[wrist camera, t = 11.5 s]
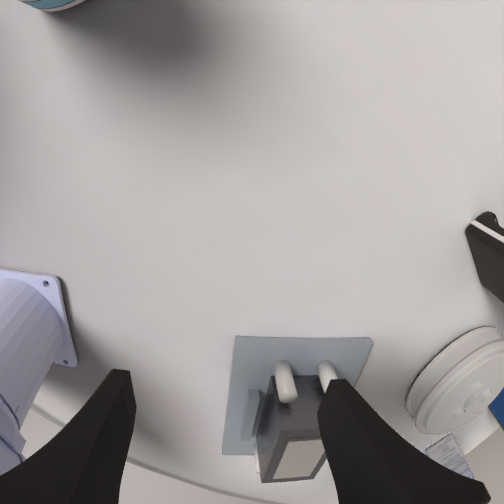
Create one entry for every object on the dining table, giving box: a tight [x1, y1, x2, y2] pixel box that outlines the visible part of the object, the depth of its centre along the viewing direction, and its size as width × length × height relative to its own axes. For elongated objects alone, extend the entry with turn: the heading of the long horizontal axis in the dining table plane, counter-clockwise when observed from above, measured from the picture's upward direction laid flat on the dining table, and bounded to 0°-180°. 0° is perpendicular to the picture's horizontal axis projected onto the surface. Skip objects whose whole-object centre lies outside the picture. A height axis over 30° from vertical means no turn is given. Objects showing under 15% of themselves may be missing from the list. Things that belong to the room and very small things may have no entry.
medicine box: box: [426, 434, 474, 479], centre depth 30 cm, size 8×4×9 cm, turn 35°
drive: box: [256, 375, 327, 483], centre depth 21 cm, size 4×8×5 cm, turn 173°
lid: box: [406, 326, 504, 434], centre depth 24 cm, size 13×13×5 cm
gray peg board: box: [222, 336, 372, 474], centre depth 23 cm, size 10×15×4 cm, turn 173°
